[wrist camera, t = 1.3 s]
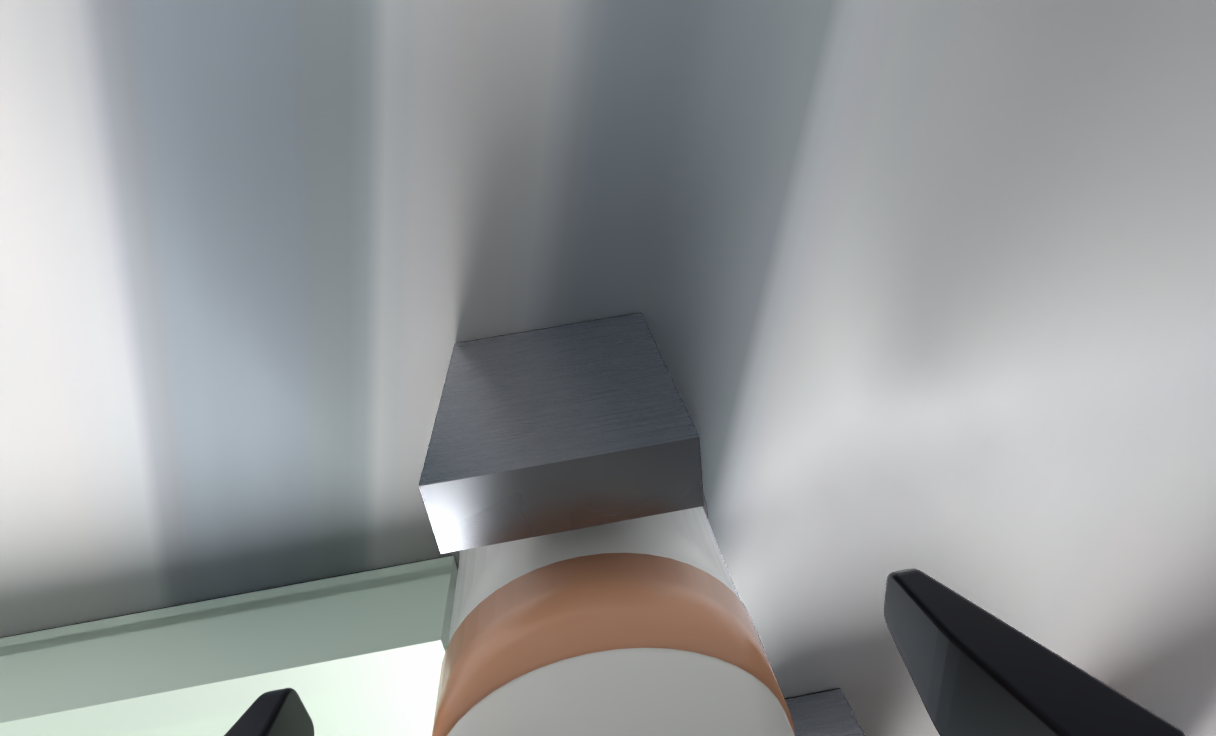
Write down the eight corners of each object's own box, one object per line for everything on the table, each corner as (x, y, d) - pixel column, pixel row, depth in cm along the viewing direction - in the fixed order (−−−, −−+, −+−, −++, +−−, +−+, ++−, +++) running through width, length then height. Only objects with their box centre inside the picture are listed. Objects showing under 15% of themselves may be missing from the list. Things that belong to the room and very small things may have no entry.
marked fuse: (701, 568, 13) (901, 1135, 6) (489, 607, 13) (449, 1242, 6) (686, 381, 11) (958, 911, 4) (435, 424, 11) (277, 1061, 4)
